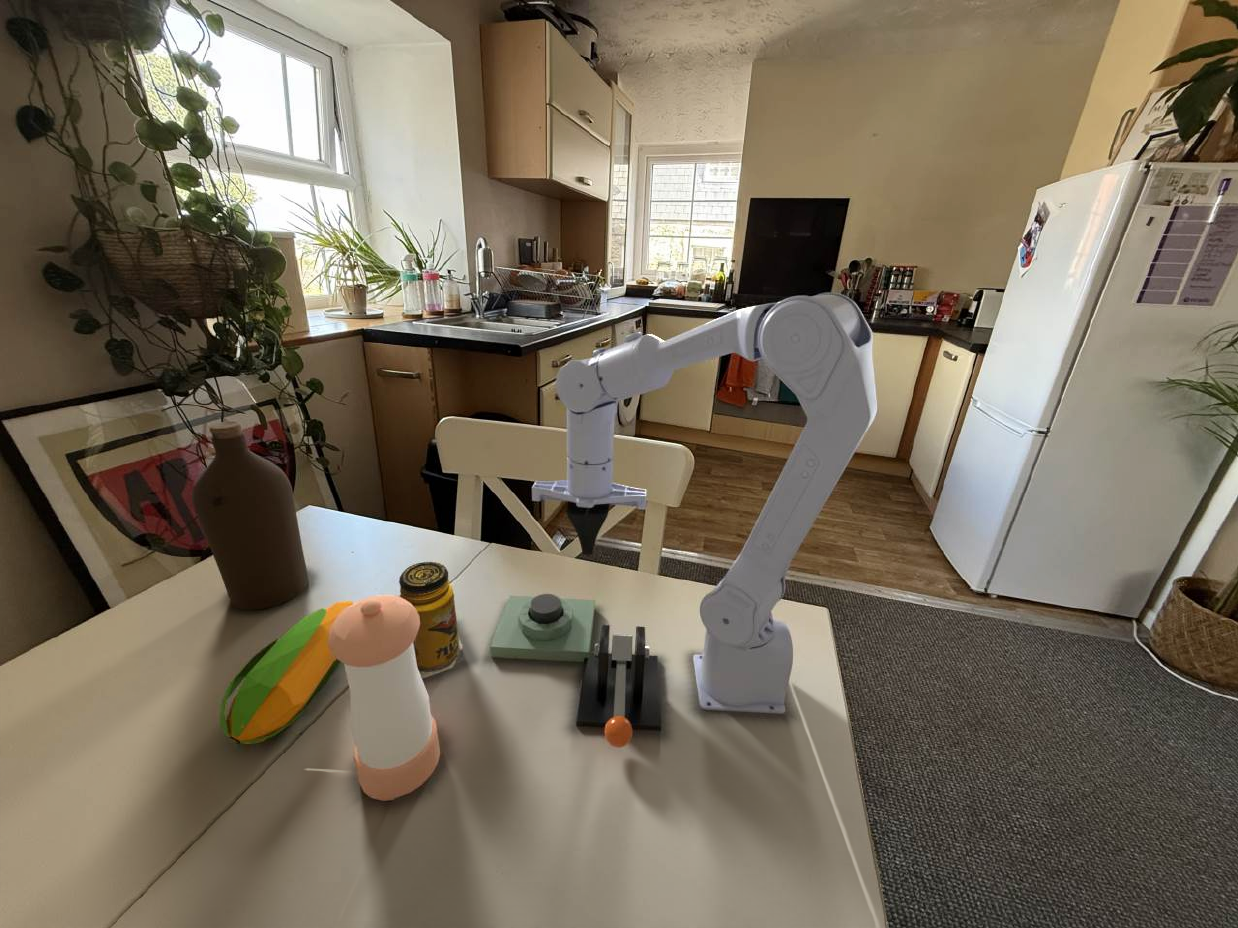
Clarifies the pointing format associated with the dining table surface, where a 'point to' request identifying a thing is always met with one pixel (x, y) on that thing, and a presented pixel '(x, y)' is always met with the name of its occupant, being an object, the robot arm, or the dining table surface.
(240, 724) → the corn
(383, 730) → the pepper shaker
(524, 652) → the block
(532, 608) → the button
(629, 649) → the switch lever
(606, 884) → the dining table surface
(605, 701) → the switch bracket
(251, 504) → the olive oil
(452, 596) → the condiment
